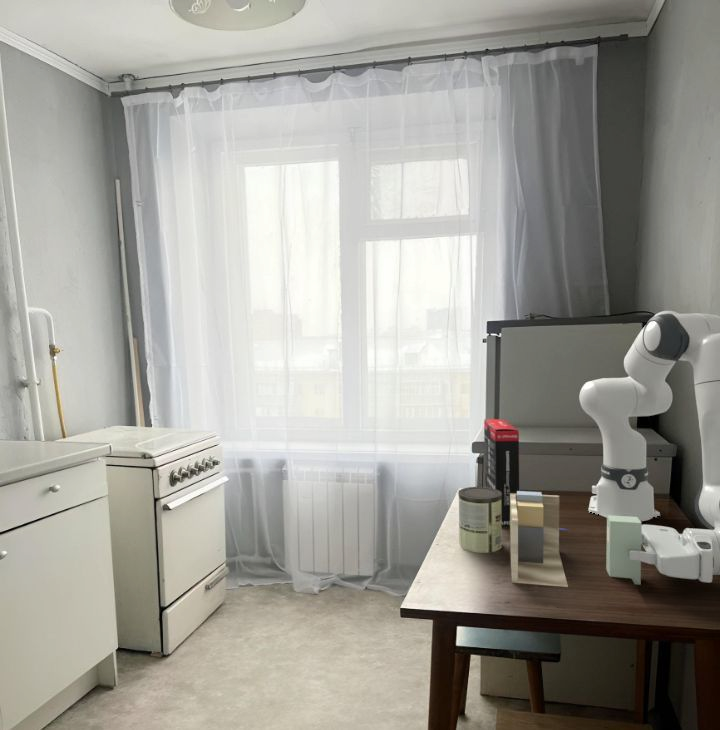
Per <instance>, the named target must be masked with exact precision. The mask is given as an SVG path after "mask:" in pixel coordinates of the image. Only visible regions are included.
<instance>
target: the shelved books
mask: <svg viewBox="0 0 720 730" xmlns="http://www.w3.org/2000/svg"><path fill="white" fill-rule="evenodd" d="M542 495H543V494H542V491H524V490H519V491H517V515H518V526H527V527H543V503H542Z"/></svg>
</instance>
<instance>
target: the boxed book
mask: <svg viewBox="0 0 720 730" xmlns="http://www.w3.org/2000/svg"><path fill="white" fill-rule="evenodd" d="M642 525H643V524H642V521H640V520H639V519H638V517H630V516H612V515H607V518H606V550H605V551H606V555H605V557H606V561H605V563H606V565H605V569H606V571H607V574H608V575H609V577H610V578H612V577H613V578H621V579H631V581H632V582H633V584H634V585H641V581H642V576H641V575H642V574H641V573H642V572H641V570H642V561H639V560H631V559H630V558H629V556H628V550H629V549H638V550H639V551H642V544H641V531H642Z"/></svg>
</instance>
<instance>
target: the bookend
mask: <svg viewBox="0 0 720 730" xmlns="http://www.w3.org/2000/svg"><path fill="white" fill-rule="evenodd" d="M543 532H544V528H543V527H527V526H518V562H530V563H543Z"/></svg>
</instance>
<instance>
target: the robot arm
mask: <svg viewBox="0 0 720 730" xmlns="http://www.w3.org/2000/svg"><path fill="white" fill-rule="evenodd" d="M678 361H685V362H689V363H690V364H691V366H692V370H693V386H694V395H695V403H696V411H697V418H698V427H699V442H700V443H699V444H700V445H699V446H700V447H699V449H700V469H701V471H700V473H701V477H700V479H701V480H700V485H699V488H698V491H697V494H696V496H695V500H694V511H695V514H696V516H697V518H698V520H699V521H700V523H701V524H703V526H705V527H706V528H708V529H705V528H689V527H686V528H684V529H683V531H682V533H679V532H678V531H677V529H675V528H673V527H669V526H663V525H656V524H642V531H641V547H643V548H644V551H642V550H641V551H639V550H638V549H629V550H628V556H629V558H630V559H631V560H639V561H641V563H646V564H649V565H654V566H655V567H656V569H657V570H658V571H659V573H660V574H662V575H664V576H666V577H671V578H679V579H685V580H686V579H687V580H697V579H698V580H699V581H700V582H701V583H712V582H713V576H714V575H715V576H717V575H718V576H719V575H720V315H717V314H710V313H701V312H699V313H697V312H695V313H679V312H677V311H673V310H663V311H660V312H657V313H656V314H655V315H653V316H652V317H650V319H649V320H648V321H647V323H646V324H645V325H644V327H643V328H642V329H641V330H640V332H639V333H638V334H637V336H636V337H635V339H634V341H633V342H632V345H631V347H629V350H628V351H627V353H626V355H624V359H623V367H624V370H625V373H626V374H627V375H628V376H626V377H607V378H606V377H603V378H598V379H593V380H590V381H589V380H588V381H587V382H585V383H584V384H583V385H582V387H581V389H580V392H579V397H578V398H579V399H578V400H579V403H580V404H579V405H580V406H581V408H582V410H583V411H584V412H585V414H587V415H588V416H590V418H592V420H594V421H595V423H596V424H597V426H598V428H599V431H600V434H601V438H602V439H601V440H602V447H603V448H602V450H603V452H602V453H603V455H602V456H603V458H602V459H603V462H602V463H601V467H600V472H601V473H600V474H601V475H600V476H601V477H600V479H599V481H598V483H596V485H592V486H591V493H592V494H596V495H592V496H591V497H590V500H589V505H588V509H587V510H588V511H589V512H588V513H590V512H592V513H591V514H593V513H595V514H594V515H598V514H599V516H601V517H603V518H606V519H607V515H612V516H630V517H638V519H639V520H640V521H641V522H644V521H645V522H646V521H650V520H652V519H654V518H653V517H655V518H658V517H657V516H660V517H661V513H660V511H658V510H656V509H655V502H654V501H655V500H654V499H655V498H654V497H655V495H654V486H652V485H651V484H650V483H649V482H648V479H649V477H648V476H649V471H648V470H649V468H648V466H647V440H646V438H645V437H644V436H643V434H641V433H640V432H639V431H636V430H635V429H633V428H632V427H631V425H630V421H629V420H630V419H629V418H630V417H650V416H655V415H659V414H663V413H666V412H667V411H668V410H669V409H670V407H671V405H672V404H673V403H672V402H673V398H674V397H673V391H672V388H671V387H670V385H669V384H668V383H667V382H666V379H667V376H668V374H670V372H671V370H672V369H673V367H674V365H675V364H676V362H678Z"/></svg>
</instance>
